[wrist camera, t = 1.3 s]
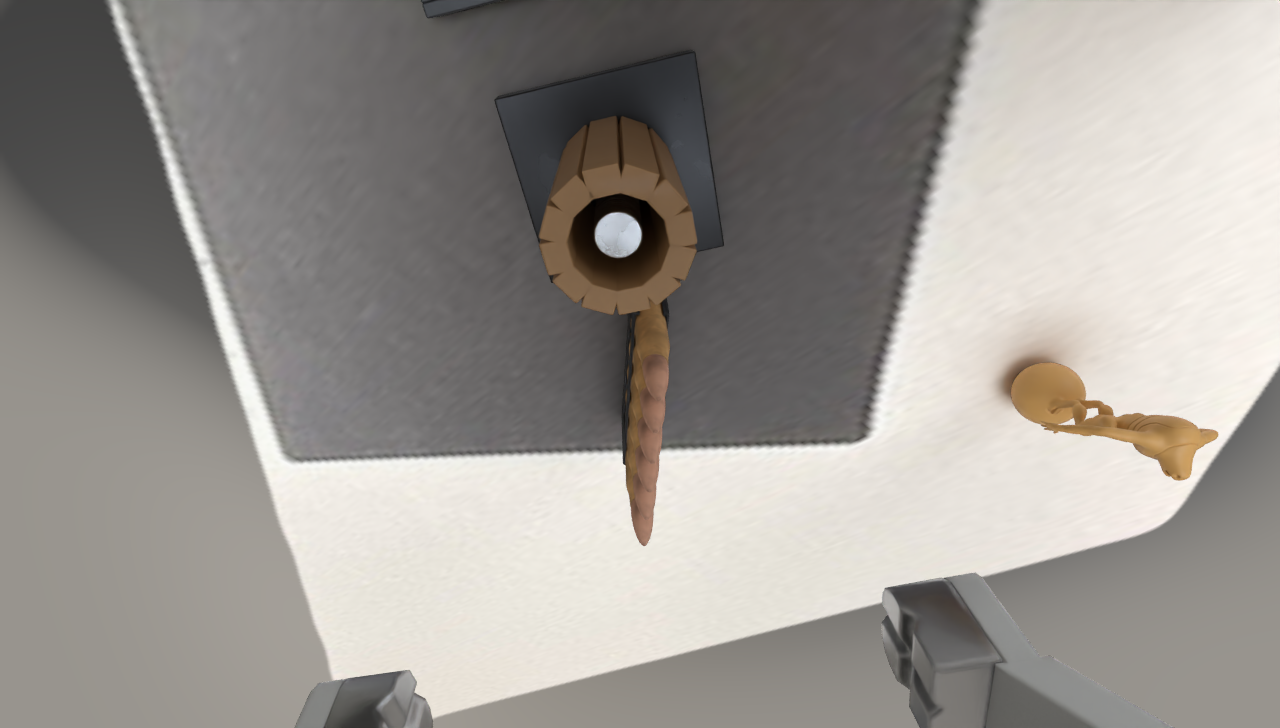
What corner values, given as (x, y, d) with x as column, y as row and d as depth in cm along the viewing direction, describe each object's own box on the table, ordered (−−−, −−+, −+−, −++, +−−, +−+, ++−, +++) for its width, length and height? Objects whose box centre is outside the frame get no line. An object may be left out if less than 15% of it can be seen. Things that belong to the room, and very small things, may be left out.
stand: (497, 96, 31) (453, 136, 23) (692, 49, 30) (724, 71, 22) (552, 276, 36) (534, 364, 28) (721, 240, 36) (756, 319, 27)
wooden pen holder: (545, 131, 31) (519, 185, 23) (662, 104, 31) (681, 148, 22) (576, 243, 34) (564, 327, 26) (682, 219, 34) (707, 297, 25)
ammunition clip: (631, 269, 36) (639, 380, 26) (663, 271, 36) (682, 381, 26) (621, 418, 42) (624, 558, 31) (649, 419, 42) (661, 558, 32)
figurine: (959, 399, 42) (1072, 531, 32) (990, 320, 39) (1126, 438, 29) (1076, 403, 43) (1224, 534, 32) (1116, 325, 39) (1293, 442, 29)
